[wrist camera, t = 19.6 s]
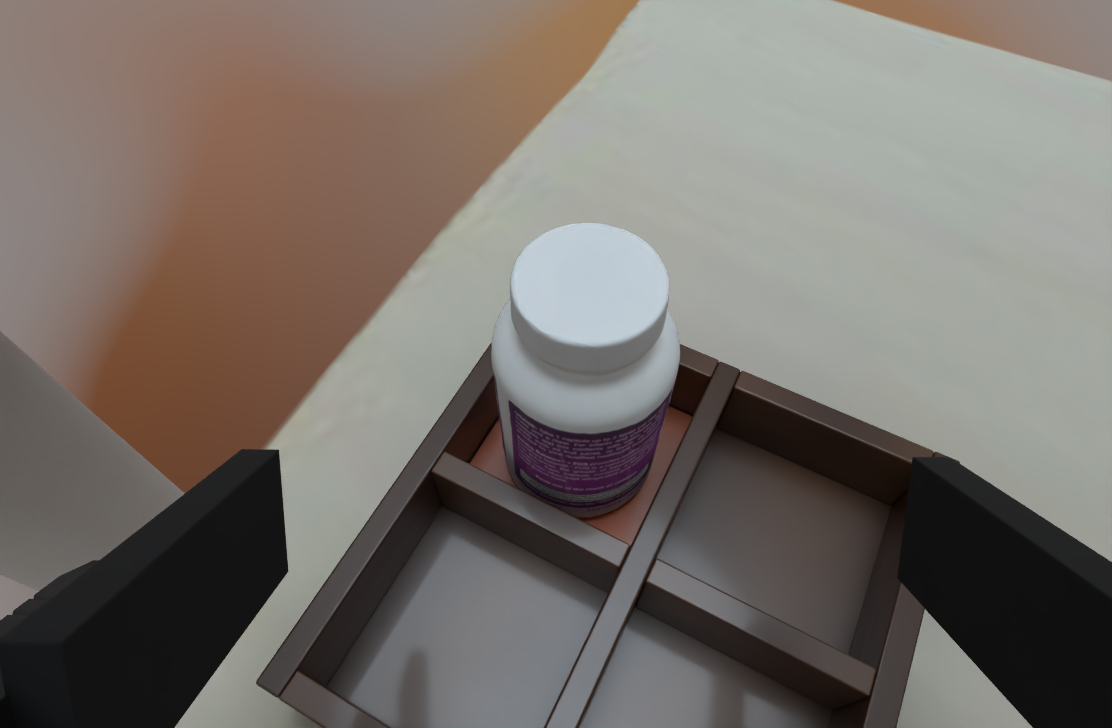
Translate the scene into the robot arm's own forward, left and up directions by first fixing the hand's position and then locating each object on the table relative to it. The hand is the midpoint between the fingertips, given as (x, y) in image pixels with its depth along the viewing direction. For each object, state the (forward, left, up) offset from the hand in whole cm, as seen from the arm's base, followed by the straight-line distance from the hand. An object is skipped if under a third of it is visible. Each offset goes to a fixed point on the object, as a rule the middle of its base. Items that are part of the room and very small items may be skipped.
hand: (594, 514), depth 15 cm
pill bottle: (-3, +5, -9) cm, 11 cm away
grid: (+1, +2, -10) cm, 10 cm away
